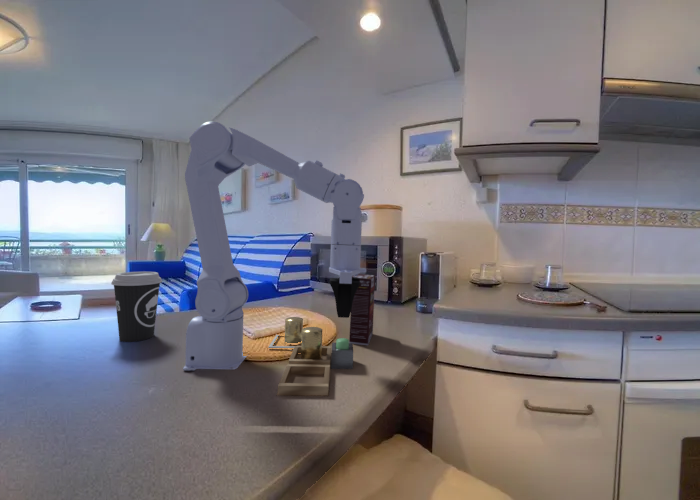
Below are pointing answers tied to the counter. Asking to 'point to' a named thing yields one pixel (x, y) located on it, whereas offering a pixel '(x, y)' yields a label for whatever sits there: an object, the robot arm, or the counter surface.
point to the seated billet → (311, 343)
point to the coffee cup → (136, 304)
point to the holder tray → (306, 375)
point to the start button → (342, 343)
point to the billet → (293, 329)
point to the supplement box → (362, 311)
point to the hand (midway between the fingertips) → (343, 315)
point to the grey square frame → (278, 346)
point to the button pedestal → (342, 357)
